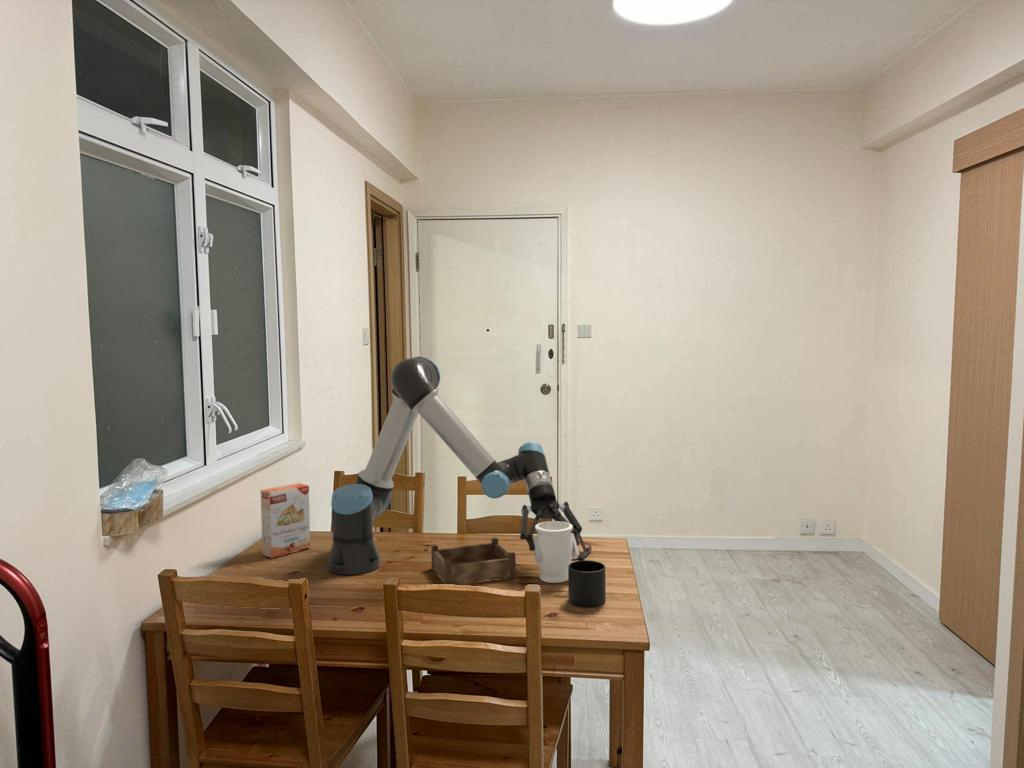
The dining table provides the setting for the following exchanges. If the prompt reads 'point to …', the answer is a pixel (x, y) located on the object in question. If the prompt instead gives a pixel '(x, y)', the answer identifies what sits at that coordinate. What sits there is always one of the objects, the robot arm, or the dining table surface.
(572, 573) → the mug
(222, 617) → the dining table surface
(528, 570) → the dining table surface
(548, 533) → the jar
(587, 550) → the portable electronic device stand
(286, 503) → the cracker box
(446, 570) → the crate
